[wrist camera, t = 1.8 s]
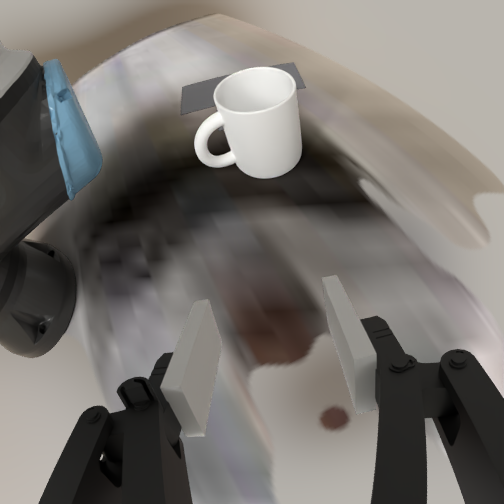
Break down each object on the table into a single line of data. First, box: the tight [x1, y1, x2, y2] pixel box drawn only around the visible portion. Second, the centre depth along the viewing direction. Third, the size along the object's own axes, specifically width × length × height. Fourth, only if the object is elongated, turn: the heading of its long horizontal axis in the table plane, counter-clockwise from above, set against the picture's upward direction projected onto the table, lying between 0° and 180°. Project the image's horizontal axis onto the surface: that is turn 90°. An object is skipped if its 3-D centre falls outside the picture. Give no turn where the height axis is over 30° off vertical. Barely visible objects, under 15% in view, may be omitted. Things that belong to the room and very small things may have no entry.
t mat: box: [181, 62, 306, 131], centre depth 45 cm, size 19×14×1 cm
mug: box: [194, 67, 302, 178], centre depth 34 cm, size 12×8×10 cm
